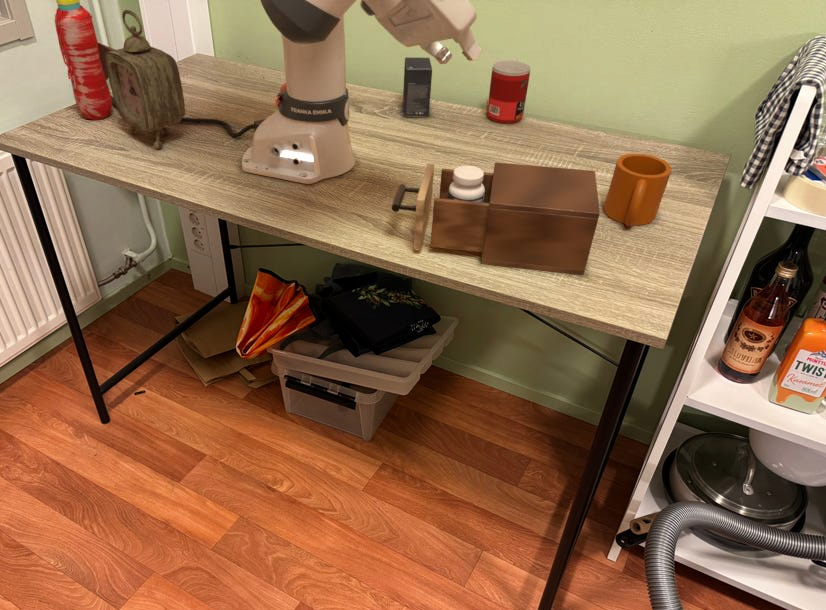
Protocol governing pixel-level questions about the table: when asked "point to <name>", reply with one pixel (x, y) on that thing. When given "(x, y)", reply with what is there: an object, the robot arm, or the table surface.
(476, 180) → the pill bottle
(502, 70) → the canned food
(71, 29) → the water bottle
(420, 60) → the box
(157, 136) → the tabletop clock
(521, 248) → the cabinet
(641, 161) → the mug
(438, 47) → the robot arm
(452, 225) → the drawer
